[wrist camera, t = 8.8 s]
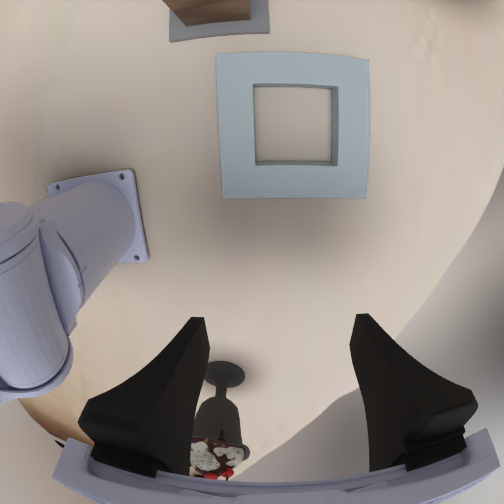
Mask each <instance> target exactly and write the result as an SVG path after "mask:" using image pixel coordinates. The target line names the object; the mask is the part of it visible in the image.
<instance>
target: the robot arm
mask: <svg viewBox="0 0 504 504" xmlns="http://www.w3.org/2000/svg"><path fill="white" fill-rule="evenodd" d="M121 174H123V175H124V179H122V178H121ZM58 185H59V187H60V189H59V188H58ZM47 192H48V196H47V197H45V198H43V199H41V200H39V201H37V202H36V203H34V204H32V205H30V206H28V207H27V206H25V205H24V204H22V203H17V202H6V203H0V405H2V404H4V403H6V402H8V401H10V400H13V399H17V398H31V397H38V396H42V395H44V394H47V393H49V392H50V391H52V390H54V389H55V388H56V387H57V386H59V385H60V384H61V383H62V382H63V380H64V379H65V378H66V376H67V375H68V373H69V371H70V369H71V367H72V363H73V347H72V344H71V341H70V339H69V337H68V336H69V335H70V334H71V332H72V331H73V329H74V328H75V326H76V325H77V322H76V315H77V313H78V312H79V310H80V309H81V307H82V306H83V305H84V303H85V302H86V301H87V299H88V298H89V297H90V296H91V294H92V293H93V292H94V290H95V289H96V288H97V287H98V285H99V284H100V283H101V282H102V280H103V279H104V278H105V277H106V275H107V274H108V273H109V272H110V271H111V269H112V268H113V267H114V266H115V265H116V263H144V262H146V261H147V260H148V258H149V256H148V251H147V246H146V241H145V236H144V231H143V226H142V220H141V214H140V208H139V202H138V196H137V189H136V182H135V175H134V172H133V171H132V170H131V169H125V170H118V171H111V172H105V173H99V174H93V175H88V176H82V177H77V178H72V179H67V180H62V181H57V182H53V183H50V184H48V185H47ZM136 255H138V256H139V258H137V257H136ZM349 345H350V352H351V358H352V363H353V367H354V370H355V373H356V377H357V380H358V383H359V387H360V390H361V394H362V397H363V401H364V406H365V412H366V420H367V428H368V439H369V464H370V466H369V468H370V469H369V471H370V472H369V473H364V474H358V475H353V476H347V477H339V478H331V479H324V480H312V481H298V482H239V481H225V480H215V479H206V478H198V477H191V476H189V471H190V454H191V443H192V434H193V426H194V419H195V412H196V407H197V402H198V398H199V395H200V391H201V388H202V384H203V380H204V377H205V373H206V369H207V365H208V358H209V351H210V345H209V341H208V336H207V331H206V326H205V321H204V317H191V318H190V319H189V320H188V321H187V323H186V324H185V325H184V326H183V328H182V329H181V330H180V331H179V332H178V334H177V335H176V336H175V337H174V338H173V339H172V340H171V342H170V343H169V344H168V345H167V346H166V347H165V348H164V349H163V350H162V351H161V352H160V353H159V354H158V355H157V356H156V357H155V358H154V359H153V360H152V361H151V362H150V363H149V364H148V365H146V366H145V367H144V368H143V369H142V370H140V371H139V372H138V373H136V374H135V375H133V376H132V377H130V378H129V379H128V380H126V381H125V382H123V383H121V384H120V385H118V386H116V387H114V388H112V389H111V390H109V391H107V392H105V393H102V394H100V395H98V396H96V397H93V398H91V399H89V400H88V401H87V403H86V405H85V407H84V409H83V411H82V413H81V416H80V418H79V420H78V424H79V426H80V428H81V429H82V430H83V431H84V432H85V433H86V434H87V435H88V436H89V437H90V438H91V439H92V440H93V441H94V442H95V444H94V447H93V448H92V447H91V446H89V445H87V444H85V443H82V442H80V441H77V440H74V439H72V438H68V439H67V442H66V444H65V446H64V448H63V451H62V453H61V456H60V458H59V460H58V463H57V465H56V468H55V470H54V473H53V475H52V477H53V479H55V480H57V481H58V482H60V483H61V484H63V485H64V486H66V487H68V488H69V489H71V490H73V491H75V492H76V493H78V494H81V495H82V496H84V497H87V498H89V499H91V500H93V501H96V502H98V503H100V504H437V503H439V502H441V501H444V500H446V499H448V498H450V497H452V496H455V495H456V494H459V493H461V492H462V491H465V490H467V489H468V488H471V487H472V486H474V485H475V484H477V483H479V482H480V481H482V480H483V479H485V478H486V477H488V476H489V475H491V474H492V473H494V472H495V471H496V470H498V469H499V468H500V467H501V466H500V463H499V460H498V457H497V454H496V451H495V448H494V446H493V443H492V440H491V438H490V435H489V433H488V430H487V429H486V428H485V429H483V430H481V431H478V432H477V433H474V434H472V435H470V436H468V437H467V438H465V439H464V437H463V434H464V433H465V428H464V425H465V424H466V423H467V421H468V420H469V419H470V418H471V417H472V416H473V415H474V413H475V412H476V410H477V408H478V403H477V401H476V399H475V397H474V395H473V393H472V391H471V390H470V389H467V388H465V387H462V386H460V385H457V384H455V383H453V382H451V381H449V380H447V379H445V378H443V377H441V376H439V375H437V374H436V373H434V372H433V371H431V370H429V369H428V368H427V367H425V366H423V365H422V364H421V363H420V362H418V361H417V360H416V359H414V358H413V357H412V356H411V355H409V354H408V353H407V352H406V351H405V350H404V349H403V348H401V347H400V346H399V345H398V344H397V343H396V342H395V341H394V340H393V339H392V338H391V337H390V336H389V335H388V334H387V333H386V332H385V331H384V330H383V329H382V328H381V327H380V325H379V324H378V323H377V322H376V321H375V320H374V319H373V318H372V317H371V316H370V315H369V314H368V313H367V314H356V318H355V323H354V327H353V332H352V336H351V340H350V344H349ZM350 492H351V493H350ZM215 496H217V497H215Z"/></svg>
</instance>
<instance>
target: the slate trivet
mask: <svg viewBox="0 0 504 504" xmlns="http://www.w3.org/2000/svg"><path fill="white" fill-rule="evenodd" d="M250 18H251V20H242V21H228V22H218V23H209V24H202V25H195V26H188V27H186V26H185V25H184V24H183V22H182V21H181V20H180V19H179V18H178V17H177V16H176V15H175V13H174V12H173V11H172V10H171V9H170V24H169V41H170V42H171V43H172V42H177V41H183V40H190V39H196V38H204V37H213V36H223V35H237V34H267V33H269V16H268V0H250Z"/></svg>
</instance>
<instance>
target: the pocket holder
mask: <svg viewBox="0 0 504 504" xmlns="http://www.w3.org/2000/svg"><path fill="white" fill-rule="evenodd" d="M216 78H217V103H218V124H219V144H220V161H221V178H222V193H223V199H250V198H348V199H366V192H367V180H368V165H369V146H370V75H369V60H365V59H358V58H352V57H344V56H336V55H327V54H315V53H299V52H243V53H227V54H216ZM253 87H309V88H325V89H332V155H331V162H309V161H261V162H256V159H255V127H254V98H253Z"/></svg>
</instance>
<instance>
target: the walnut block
mask: <svg viewBox="0 0 504 504" xmlns="http://www.w3.org/2000/svg"><path fill="white" fill-rule="evenodd" d="M162 1H163V2H164V3H165V4H166V5H167V6H168V7H169V8H170V9H171V10H172V11H173V12H174V13H175V15H176V16H177V17H178V18H179V19H180V20H181V21H182V22H183V24H184V25H185V26H186V27H188V26H195V25H202V24H209V23H218V22H228V21H242V20H251V18H250V0H162Z"/></svg>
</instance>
